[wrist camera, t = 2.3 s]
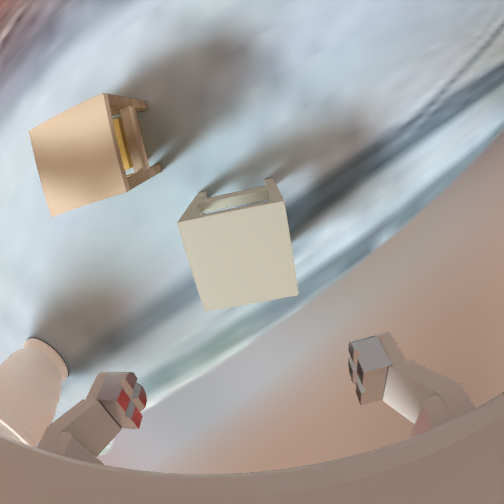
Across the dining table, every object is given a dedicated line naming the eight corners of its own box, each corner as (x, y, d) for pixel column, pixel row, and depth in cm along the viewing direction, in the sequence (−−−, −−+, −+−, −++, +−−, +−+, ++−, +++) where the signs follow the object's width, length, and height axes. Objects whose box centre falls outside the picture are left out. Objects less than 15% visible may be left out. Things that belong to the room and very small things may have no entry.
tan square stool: (84, 125, 22) (29, 131, 14) (145, 101, 21) (103, 93, 14) (100, 190, 24) (51, 216, 17) (162, 171, 24) (126, 192, 16)
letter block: (97, 133, 22) (74, 135, 18) (136, 118, 22) (117, 117, 18) (107, 173, 24) (86, 183, 20) (146, 161, 23) (129, 168, 20)
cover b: (198, 193, 25) (177, 222, 17) (272, 177, 24) (284, 201, 17) (215, 260, 27) (204, 311, 20) (284, 247, 27) (298, 294, 19)
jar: (15, 320, 31) (-39, 390, 17) (71, 348, 32) (24, 434, 18) (26, 367, 35) (-13, 431, 21) (77, 392, 36) (44, 466, 22)
